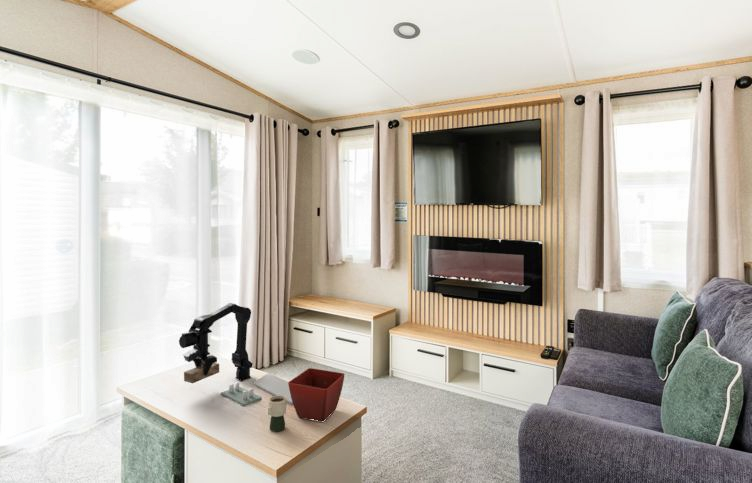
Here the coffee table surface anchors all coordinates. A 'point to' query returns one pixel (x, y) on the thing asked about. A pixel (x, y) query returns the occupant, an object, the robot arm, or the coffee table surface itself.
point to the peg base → (241, 395)
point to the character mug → (277, 412)
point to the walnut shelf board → (200, 373)
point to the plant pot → (316, 393)
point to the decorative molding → (274, 386)
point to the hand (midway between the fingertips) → (202, 373)
